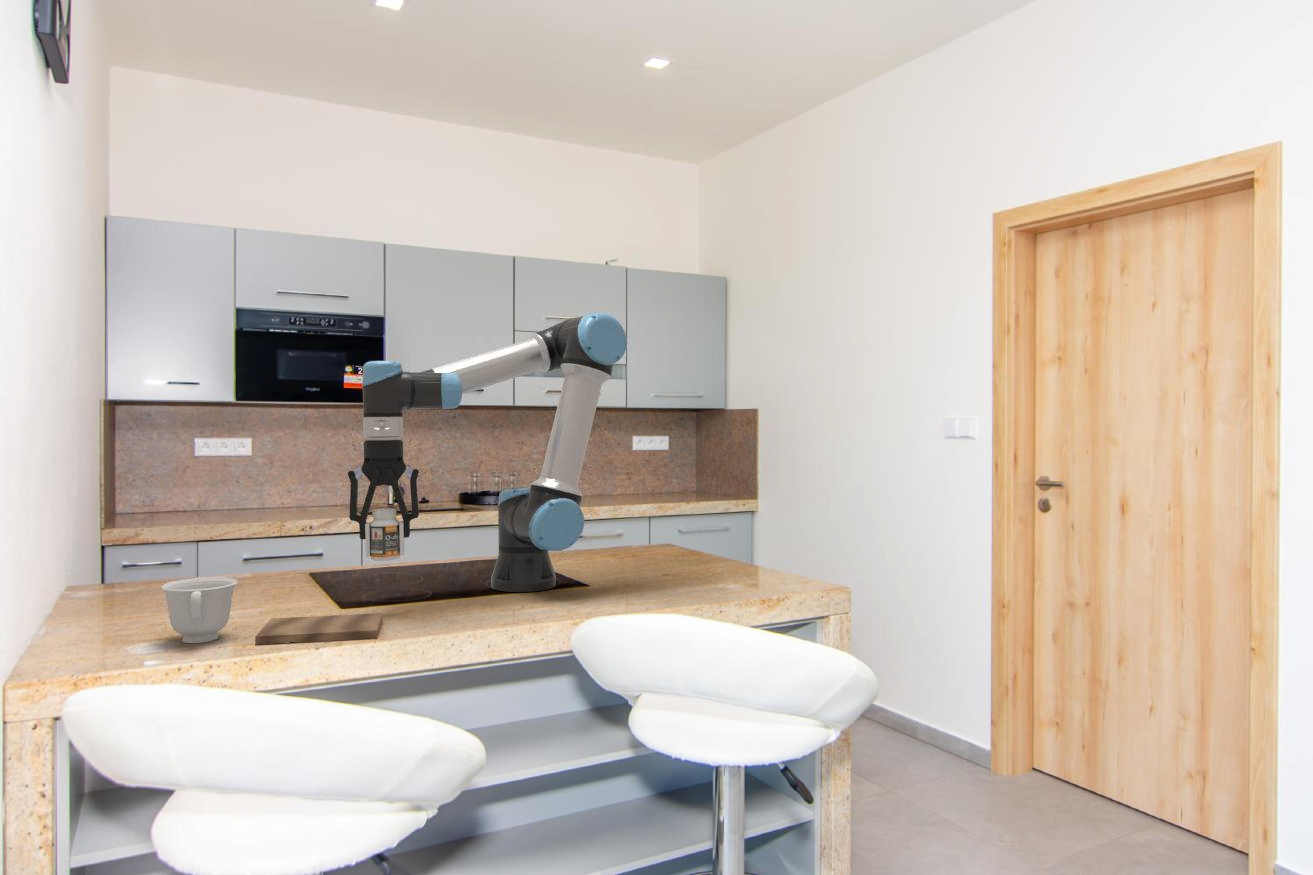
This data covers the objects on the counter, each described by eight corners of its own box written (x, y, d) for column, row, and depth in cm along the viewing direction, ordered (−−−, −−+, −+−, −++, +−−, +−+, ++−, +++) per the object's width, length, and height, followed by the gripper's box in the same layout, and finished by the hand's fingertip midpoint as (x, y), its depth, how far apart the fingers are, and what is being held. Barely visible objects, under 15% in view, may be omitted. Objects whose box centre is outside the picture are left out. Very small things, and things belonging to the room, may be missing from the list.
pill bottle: (391, 561, 168) (390, 511, 168) (364, 561, 170) (363, 510, 169) (405, 557, 174) (404, 508, 174) (379, 556, 175) (378, 507, 175)
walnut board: (381, 620, 167) (381, 613, 167) (376, 638, 153) (376, 630, 153) (270, 626, 162) (270, 618, 162) (255, 645, 148) (255, 636, 148)
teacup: (154, 655, 142) (153, 595, 141) (165, 634, 155) (165, 579, 155) (235, 648, 146) (235, 589, 146) (239, 628, 160) (239, 575, 160)
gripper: (331, 440, 165) (333, 560, 166) (431, 438, 170) (433, 555, 170) (335, 439, 172) (337, 554, 173) (432, 437, 177) (433, 549, 178)
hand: (385, 554), depth 172 cm, fingers closed on pill bottle, 6 cm apart
